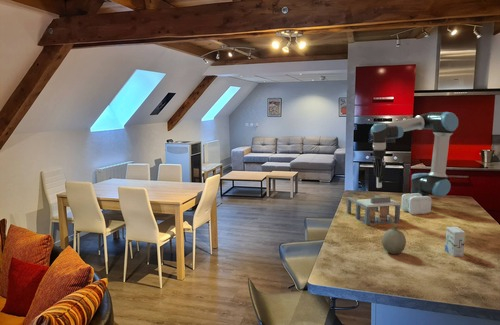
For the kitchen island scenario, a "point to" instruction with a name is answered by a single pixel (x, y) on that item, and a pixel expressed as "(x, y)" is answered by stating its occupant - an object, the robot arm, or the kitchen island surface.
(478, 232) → the kitchen island surface
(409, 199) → the cable organizer
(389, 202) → the lid
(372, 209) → the seated rounded capsule
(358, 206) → the housing
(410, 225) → the kitchen island surface
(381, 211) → the pink rounded capsule
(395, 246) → the fruit
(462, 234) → the ink box
